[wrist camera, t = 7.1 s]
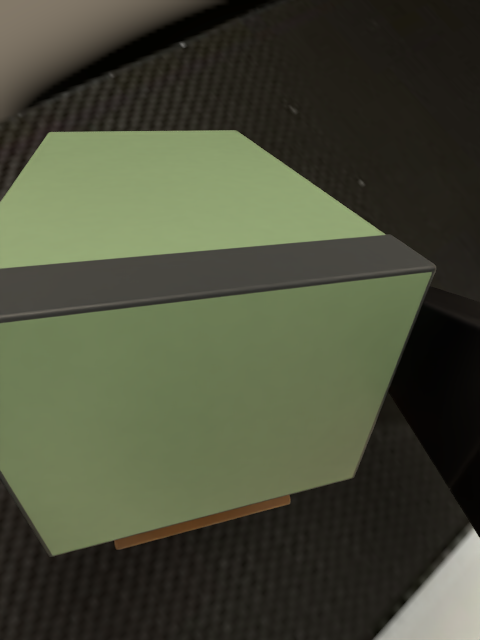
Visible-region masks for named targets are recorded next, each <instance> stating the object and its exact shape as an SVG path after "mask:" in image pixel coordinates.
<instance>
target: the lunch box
mask: <svg viewBox="0 0 480 640" xmlns="http://www.w3.org/2000/svg"><path fill="white" fill-rule="evenodd" d="M435 271H436V266H435V265H434V264H433V263H431V262H430V261H429V260H427V259H426V258H424V257H423V256H421V255H420V254H418V253H417V252H415V251H414V250H412V249H411V248H410V247H408V246H407V245H405V244H404V243H402V242H401V241H399V240H398V239H396V238H395V237H393V236H392V235H385V234H384V233H382V232H381V231H380V230H378V229H377V228H375V227H374V226H372V225H371V224H370V223H368V222H367V221H365V220H364V219H362V218H361V217H359V216H358V215H357V214H355V213H354V212H352V211H351V210H349V209H348V208H347V207H345V206H344V205H342V204H341V203H339V202H338V201H337V200H335V199H334V198H332V197H331V196H329V195H328V194H326V193H325V192H324V191H322V190H321V189H319V188H318V187H316V186H315V185H314V184H312V183H311V182H309V181H308V180H306V179H305V178H304V177H302V176H301V175H299V174H298V173H296V172H295V171H293V170H292V169H291V168H289V167H288V166H286V165H285V164H283V163H282V162H281V161H279V160H278V159H276V158H275V157H273V156H272V155H271V154H269V153H268V152H266V151H265V150H263V149H262V148H260V147H259V146H258V145H256V144H255V143H253V142H252V141H250V140H249V139H248V138H246V137H245V136H243V135H242V134H240V133H239V132H238V131H236V130H231V131H122V132H50V133H48V135H47V136H46V138H45V139H44V140H43V142H42V143H41V145H40V146H39V148H38V149H37V150H36V152H35V153H34V155H33V156H32V158H31V159H30V160H29V162H28V163H27V165H26V166H25V168H24V169H23V170H22V172H21V173H20V175H19V176H18V178H17V179H16V180H15V182H14V183H13V185H12V186H11V188H10V189H9V191H8V192H7V193H6V195H5V196H4V198H3V199H2V201H1V202H0V479H1V480H2V482H3V484H4V485H5V487H6V488H7V490H8V492H9V493H10V495H11V496H12V498H13V499H14V501H15V503H16V504H17V506H18V507H19V509H20V511H21V512H22V514H23V515H24V517H25V519H26V520H27V522H28V523H29V525H30V527H31V528H32V530H33V531H34V533H35V534H36V536H37V538H38V539H39V541H40V542H41V544H42V546H43V547H44V549H45V550H46V552H47V554H48V555H49V556H50V557H53V556H57V555H61V554H65V553H68V552H72V551H76V550H80V549H84V548H88V547H91V546H95V545H99V544H103V543H107V542H111V541H114V540H118V539H122V538H126V537H130V536H133V535H137V534H141V533H145V532H149V531H153V530H156V529H160V528H164V527H168V526H172V525H176V524H179V523H183V522H187V521H191V520H195V519H199V518H202V517H206V516H210V515H214V514H218V513H221V512H225V511H229V510H233V509H237V508H241V507H244V506H248V505H252V504H256V503H260V502H264V501H267V500H271V499H275V498H279V497H283V496H287V495H290V494H294V493H298V492H302V491H306V490H309V489H313V488H317V487H321V486H325V485H329V484H332V483H336V482H340V481H344V480H348V479H352V478H353V477H354V476H355V474H356V471H357V468H358V466H359V463H360V461H361V458H362V456H363V453H364V451H365V448H366V446H367V443H368V441H369V438H370V436H371V433H372V430H373V428H374V425H375V423H376V420H377V418H378V415H379V413H380V410H381V408H382V405H383V403H384V400H385V398H386V395H387V392H388V390H389V387H390V385H391V382H392V380H393V377H394V375H395V372H396V370H397V367H398V365H399V362H400V360H401V357H402V354H403V352H404V349H405V347H406V344H407V342H408V339H409V337H410V334H411V332H412V329H413V327H414V324H415V322H416V319H417V316H418V314H419V311H420V309H421V306H422V304H423V301H424V299H425V296H426V294H427V291H428V289H429V286H430V284H431V281H432V278H433V276H434V273H435Z"/></svg>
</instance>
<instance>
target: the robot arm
mask: <svg viewBox="0 0 480 640" xmlns="http://www.w3.org/2000/svg"><path fill="white" fill-rule="evenodd" d="M388 392H389V394H390V395H391V397H392V398H393V400H394V402H395V403H396V405H397V406H398V408H399V410H400V411H401V413H402V414H403V416H404V417H405V419H406V421H407V422H408V424H409V425H410V427H411V429H412V430H413V432H414V433H415V435H416V437H417V438H418V440H419V441H420V443H421V445H422V446H423V448H424V449H425V451H426V453H427V454H428V456H429V457H430V459H431V460H432V462H433V464H434V465H435V467H436V468H437V470H438V472H439V473H440V475H441V476H442V478H443V480H444V481H445V483H446V484H447V486H448V487H449V488H451V489H450V491H451V493H452V494H453V496H454V497H455V499H456V501H457V502H458V504H459V505H460V507H461V509H462V510H463V512H464V513H465V515H466V517H467V518H468V520H469V521H470V523H471V525H472V526H473V528H474V529H475V531H476V533H477V534H478V536H479V537H480V302H477V301H474V300H471V299H468V298H465V297H462V296H459V295H455V294H452V293H449V292H446V291H443V290H440V289H437V288H434V287H431V286H429V289H428V291H427V294H426V296H425V299H424V301H423V304H422V306H421V309H420V311H419V314H418V316H417V319H416V322H415V324H414V327H413V329H412V332H411V334H410V337H409V339H408V342H407V344H406V347H405V349H404V352H403V354H402V357H401V360H400V362H399V365H398V367H397V370H396V372H395V375H394V377H393V380H392V382H391V385H390V387H389V390H388Z"/></svg>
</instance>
